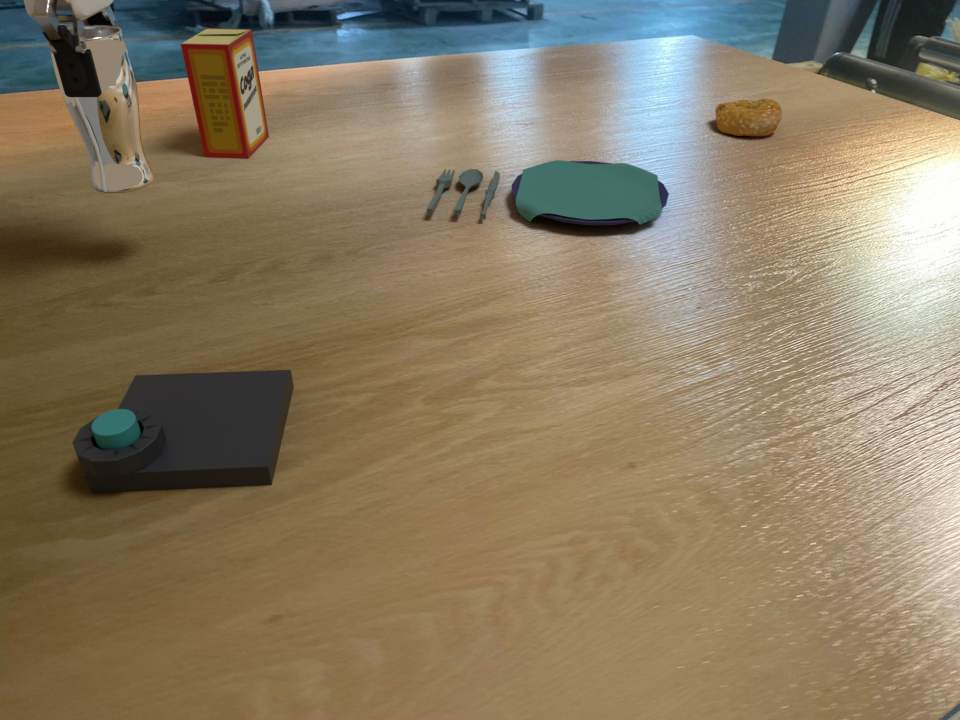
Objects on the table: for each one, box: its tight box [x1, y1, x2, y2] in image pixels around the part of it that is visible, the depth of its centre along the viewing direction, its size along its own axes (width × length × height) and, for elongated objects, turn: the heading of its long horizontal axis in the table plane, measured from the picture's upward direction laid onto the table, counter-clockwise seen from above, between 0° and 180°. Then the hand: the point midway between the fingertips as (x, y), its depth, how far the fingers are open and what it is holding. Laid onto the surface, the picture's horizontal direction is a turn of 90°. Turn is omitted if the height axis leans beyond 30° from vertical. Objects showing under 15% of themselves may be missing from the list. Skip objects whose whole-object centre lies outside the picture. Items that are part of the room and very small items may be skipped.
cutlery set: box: [426, 159, 670, 226], centre depth 98 cm, size 20×30×2 cm, turn 82°
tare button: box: [91, 408, 141, 450], centre depth 55 cm, size 3×3×2 cm
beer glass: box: [50, 25, 155, 194], centre depth 76 cm, size 7×7×15 cm
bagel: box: [714, 98, 783, 137], centre depth 120 cm, size 10×11×5 cm
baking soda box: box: [180, 27, 270, 159], centre depth 110 cm, size 10×6×16 cm
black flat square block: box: [72, 369, 295, 494], centre depth 59 cm, size 14×12×4 cm
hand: (98, 83), depth 75 cm, fingers closed on beer glass, 7 cm apart
